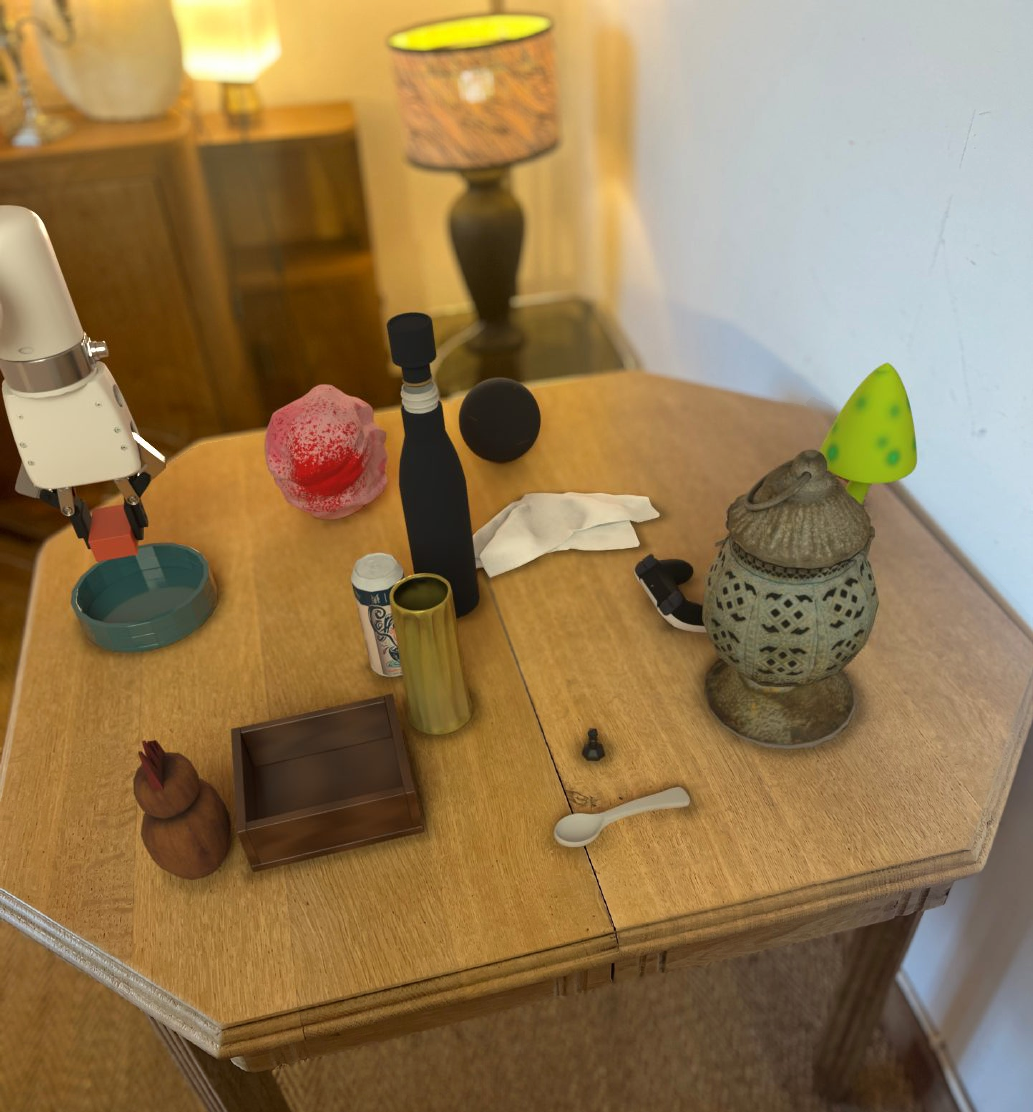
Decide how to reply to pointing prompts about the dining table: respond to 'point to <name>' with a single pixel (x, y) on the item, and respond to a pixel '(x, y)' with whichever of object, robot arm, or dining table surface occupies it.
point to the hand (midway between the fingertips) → (116, 535)
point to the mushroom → (873, 434)
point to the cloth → (558, 527)
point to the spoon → (614, 816)
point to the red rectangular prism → (111, 534)
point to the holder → (322, 783)
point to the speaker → (499, 420)
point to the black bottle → (431, 468)
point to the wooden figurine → (180, 814)
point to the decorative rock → (327, 453)
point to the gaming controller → (670, 591)
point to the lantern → (789, 607)
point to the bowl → (145, 598)
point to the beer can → (378, 609)
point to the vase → (430, 654)
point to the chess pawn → (593, 747)
